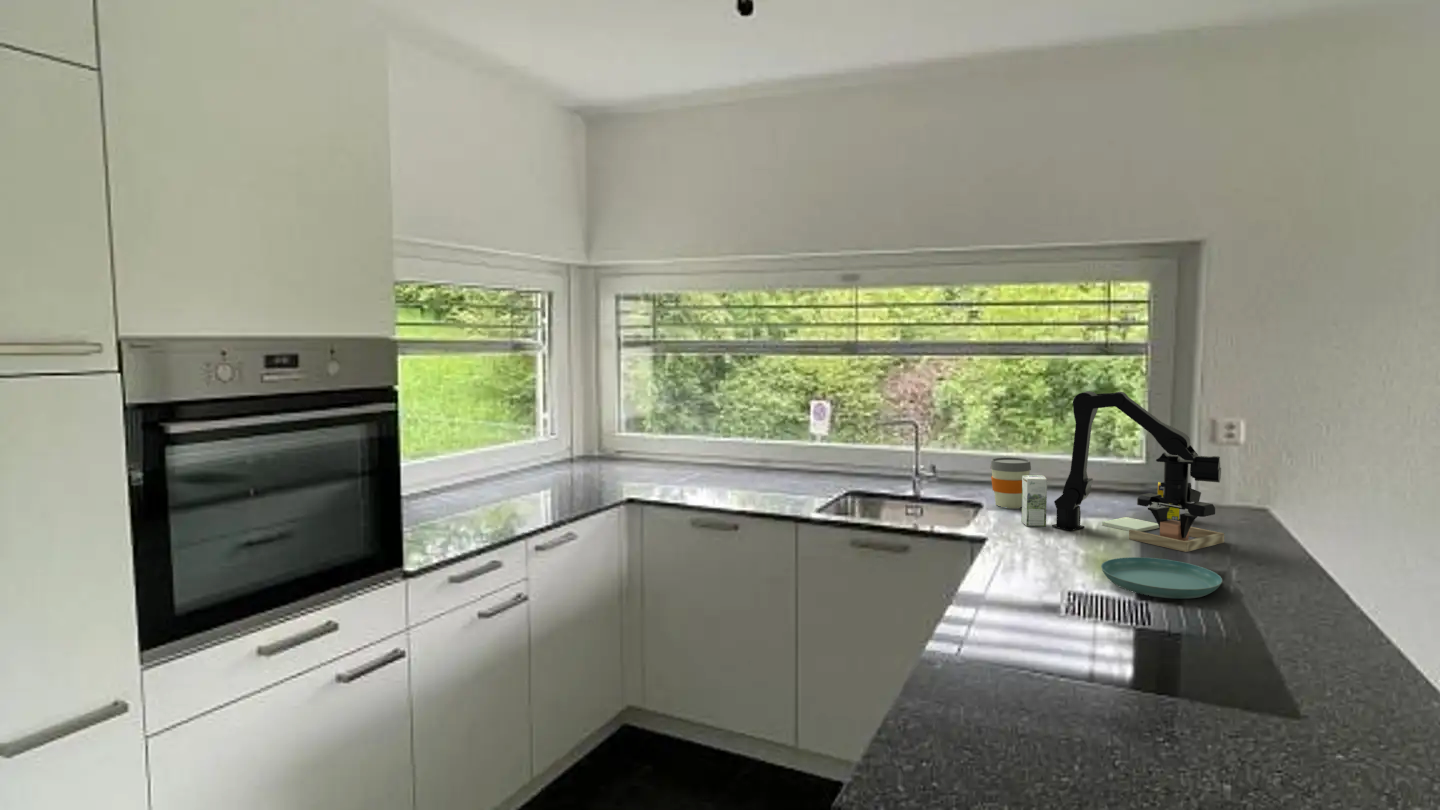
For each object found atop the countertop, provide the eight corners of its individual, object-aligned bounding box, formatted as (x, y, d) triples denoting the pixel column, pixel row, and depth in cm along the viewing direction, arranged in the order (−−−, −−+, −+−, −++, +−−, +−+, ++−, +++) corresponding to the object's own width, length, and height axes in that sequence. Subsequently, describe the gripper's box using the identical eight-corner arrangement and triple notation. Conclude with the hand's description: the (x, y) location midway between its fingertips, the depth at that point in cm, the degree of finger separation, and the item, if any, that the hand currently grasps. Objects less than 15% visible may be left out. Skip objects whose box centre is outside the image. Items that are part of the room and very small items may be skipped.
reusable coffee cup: (1033, 510, 265) (1034, 463, 264) (992, 509, 268) (992, 463, 267) (1027, 502, 278) (1027, 457, 276) (987, 501, 280) (988, 457, 279)
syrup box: (1040, 522, 249) (1041, 474, 248) (1046, 527, 243) (1047, 478, 242) (1021, 522, 250) (1021, 474, 248) (1026, 527, 244) (1027, 478, 242)
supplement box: (1156, 521, 248) (1157, 484, 247) (1156, 517, 253) (1157, 481, 252) (1179, 523, 245) (1180, 486, 244) (1179, 518, 250) (1180, 482, 249)
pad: (1136, 532, 234) (1137, 529, 234) (1102, 525, 244) (1102, 521, 244) (1160, 527, 240) (1160, 524, 240) (1125, 520, 249) (1125, 516, 249)
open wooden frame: (1185, 552, 214) (1186, 542, 214) (1128, 539, 228) (1129, 530, 228) (1223, 542, 222) (1224, 533, 222) (1166, 530, 236) (1166, 521, 236)
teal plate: (1156, 608, 174) (1156, 592, 173) (1077, 576, 197) (1078, 562, 196) (1248, 596, 180) (1249, 581, 180) (1162, 566, 203) (1162, 553, 203)
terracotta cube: (1177, 544, 222) (1177, 525, 222) (1159, 540, 226) (1160, 522, 226) (1188, 541, 225) (1189, 523, 224) (1170, 537, 229) (1171, 519, 228)
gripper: (1228, 481, 220) (1226, 538, 221) (1161, 471, 236) (1159, 525, 237) (1203, 485, 214) (1201, 545, 216) (1136, 475, 231) (1135, 530, 232)
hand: (1174, 535), depth 225 cm, fingers open, 5 cm apart
